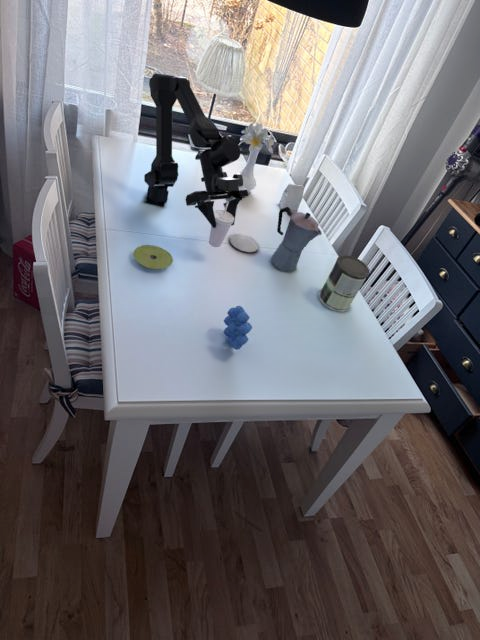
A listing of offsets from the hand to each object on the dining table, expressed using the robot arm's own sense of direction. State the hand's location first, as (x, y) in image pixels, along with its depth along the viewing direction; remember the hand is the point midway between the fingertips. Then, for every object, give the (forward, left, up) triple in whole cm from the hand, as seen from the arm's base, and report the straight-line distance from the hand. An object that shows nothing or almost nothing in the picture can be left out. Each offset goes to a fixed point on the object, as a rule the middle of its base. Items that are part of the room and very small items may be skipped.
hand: (223, 226), depth 137 cm
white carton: (+29, +49, -13) cm, 58 cm away
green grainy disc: (-18, -6, -13) cm, 23 cm away
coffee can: (+39, -5, -13) cm, 42 cm away
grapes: (+6, -33, -13) cm, 36 cm away
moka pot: (+23, +9, -13) cm, 28 cm away
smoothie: (-1, +1, -7) cm, 7 cm away
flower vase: (+10, +55, -13) cm, 57 cm away
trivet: (+10, +15, -13) cm, 22 cm away
